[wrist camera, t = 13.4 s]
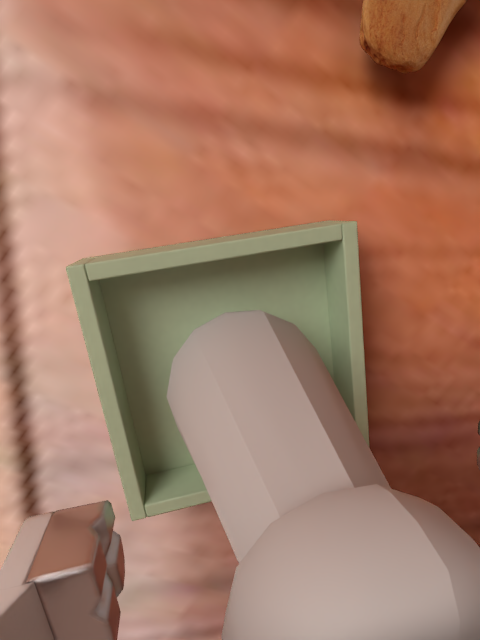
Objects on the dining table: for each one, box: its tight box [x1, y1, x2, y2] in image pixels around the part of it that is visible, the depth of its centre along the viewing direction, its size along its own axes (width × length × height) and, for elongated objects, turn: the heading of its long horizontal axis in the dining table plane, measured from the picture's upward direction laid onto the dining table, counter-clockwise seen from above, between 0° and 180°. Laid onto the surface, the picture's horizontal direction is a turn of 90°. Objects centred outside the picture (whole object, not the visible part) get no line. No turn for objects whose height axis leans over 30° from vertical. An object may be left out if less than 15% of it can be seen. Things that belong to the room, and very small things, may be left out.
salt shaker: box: [167, 310, 480, 640], centre depth 11 cm, size 6×6×13 cm
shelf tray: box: [66, 221, 369, 521], centre depth 16 cm, size 10×10×3 cm
